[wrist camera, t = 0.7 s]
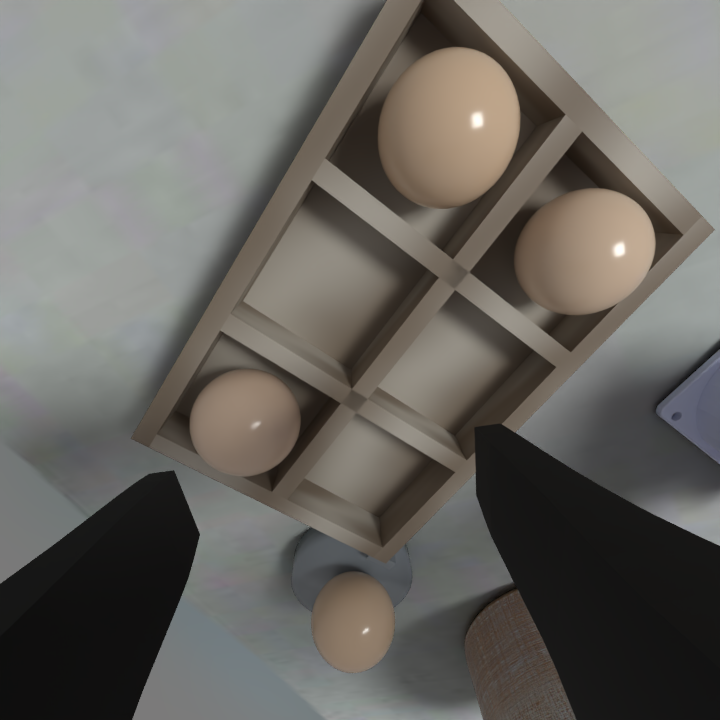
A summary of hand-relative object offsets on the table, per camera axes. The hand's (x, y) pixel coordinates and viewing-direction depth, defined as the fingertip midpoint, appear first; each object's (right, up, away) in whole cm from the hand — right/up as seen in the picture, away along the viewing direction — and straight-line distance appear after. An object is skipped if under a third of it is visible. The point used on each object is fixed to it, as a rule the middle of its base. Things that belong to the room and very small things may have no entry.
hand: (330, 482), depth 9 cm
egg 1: (-4, +1, +9) cm, 10 cm away
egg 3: (+9, +8, +7) cm, 13 cm away
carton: (+2, +5, +9) cm, 10 cm away
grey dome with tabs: (0, -9, +14) cm, 17 cm away
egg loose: (0, -10, +13) cm, 16 cm away
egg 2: (+3, +11, +5) cm, 13 cm away
